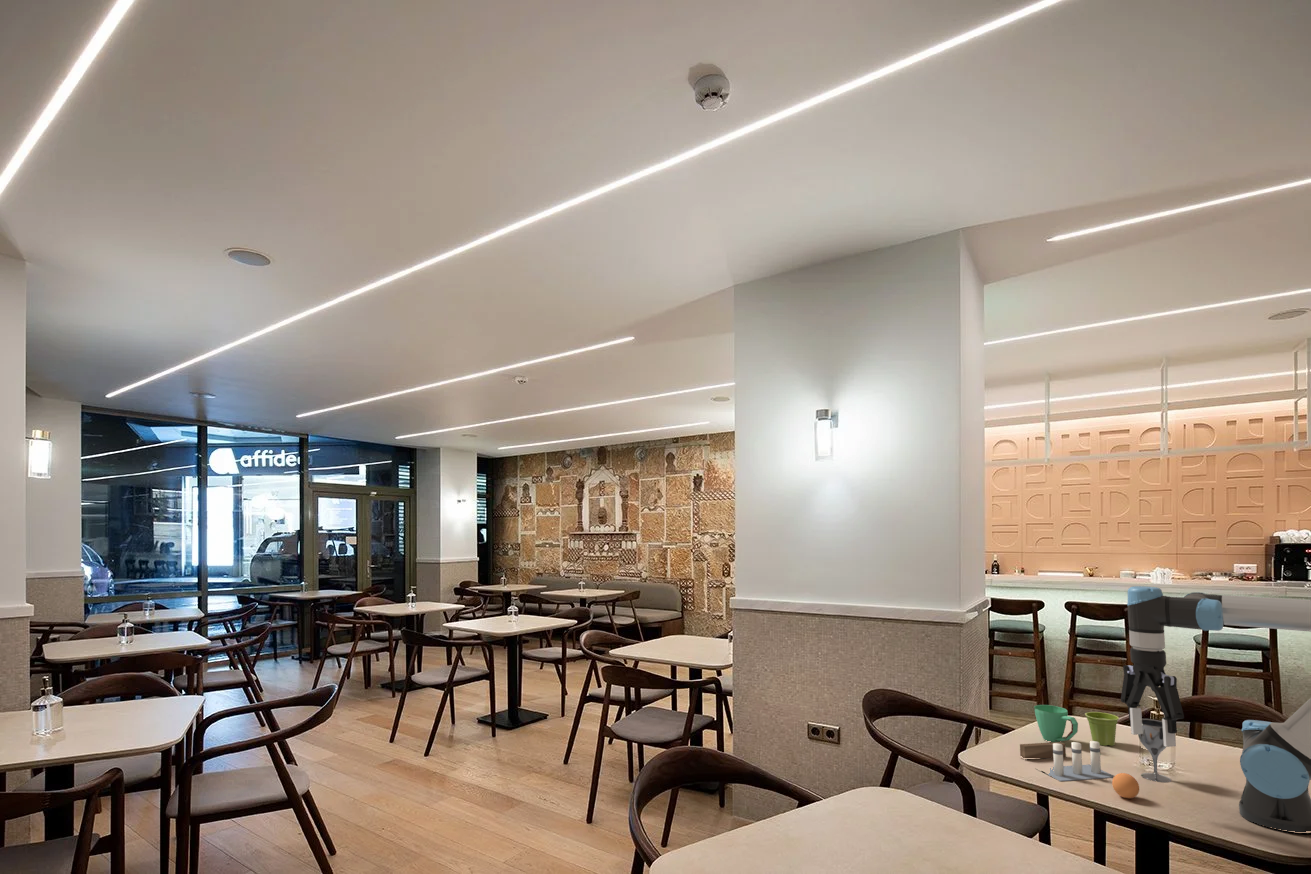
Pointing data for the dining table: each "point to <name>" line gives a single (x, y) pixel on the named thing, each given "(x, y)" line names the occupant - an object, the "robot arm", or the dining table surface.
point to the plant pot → (1102, 727)
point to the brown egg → (1125, 785)
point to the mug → (1054, 722)
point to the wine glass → (1153, 746)
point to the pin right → (1095, 757)
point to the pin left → (1058, 759)
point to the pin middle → (1077, 758)
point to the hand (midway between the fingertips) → (1152, 739)
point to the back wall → (1039, 750)
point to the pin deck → (1086, 775)
